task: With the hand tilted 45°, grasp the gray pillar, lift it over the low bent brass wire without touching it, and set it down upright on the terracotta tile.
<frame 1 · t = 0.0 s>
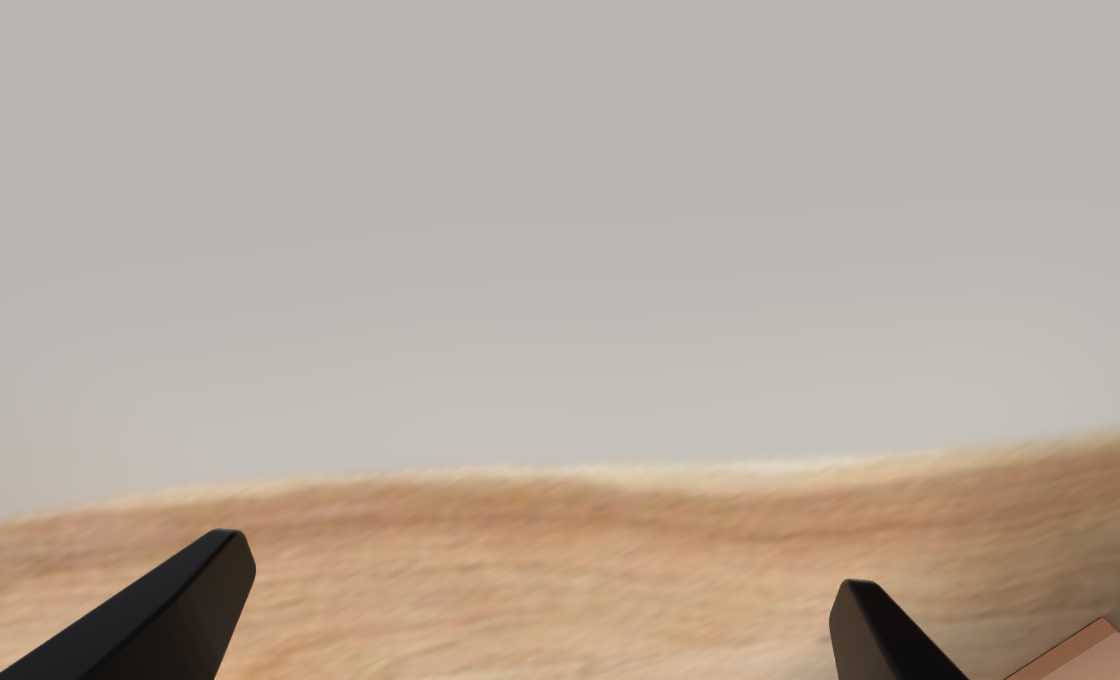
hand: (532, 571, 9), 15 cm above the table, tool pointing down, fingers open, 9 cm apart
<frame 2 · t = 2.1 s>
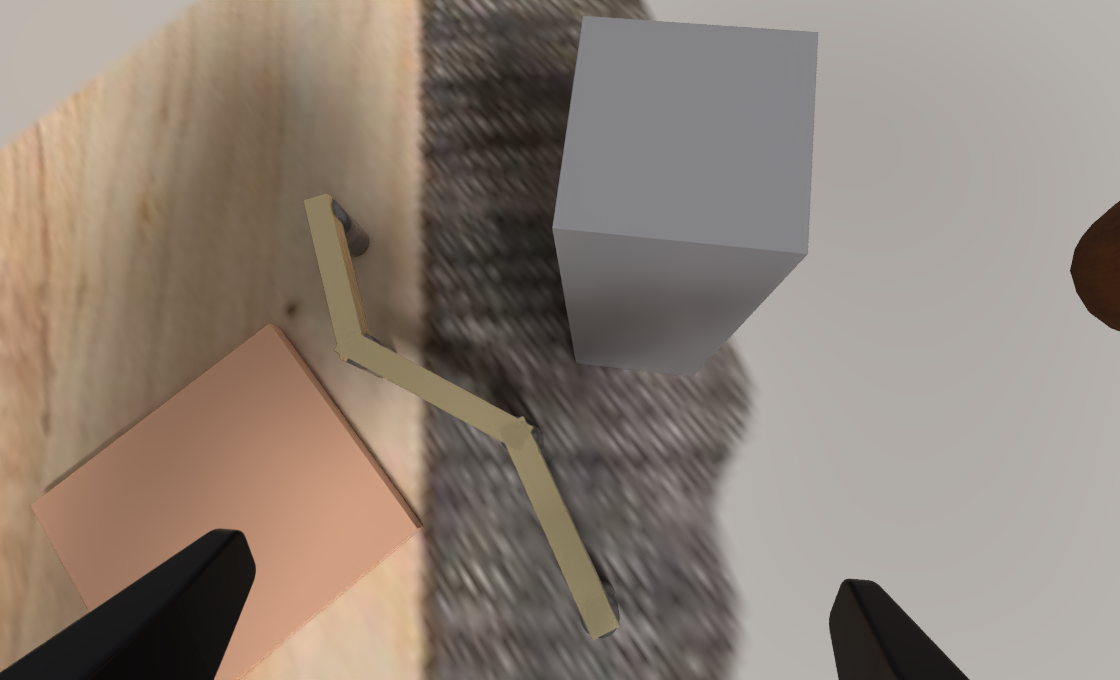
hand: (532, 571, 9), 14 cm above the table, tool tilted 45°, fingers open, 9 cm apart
terracotta tile: (231, 515, 23), on the table
gray pillar: (639, 314, 24), on the table
bent wire: (467, 406, 23), on the table
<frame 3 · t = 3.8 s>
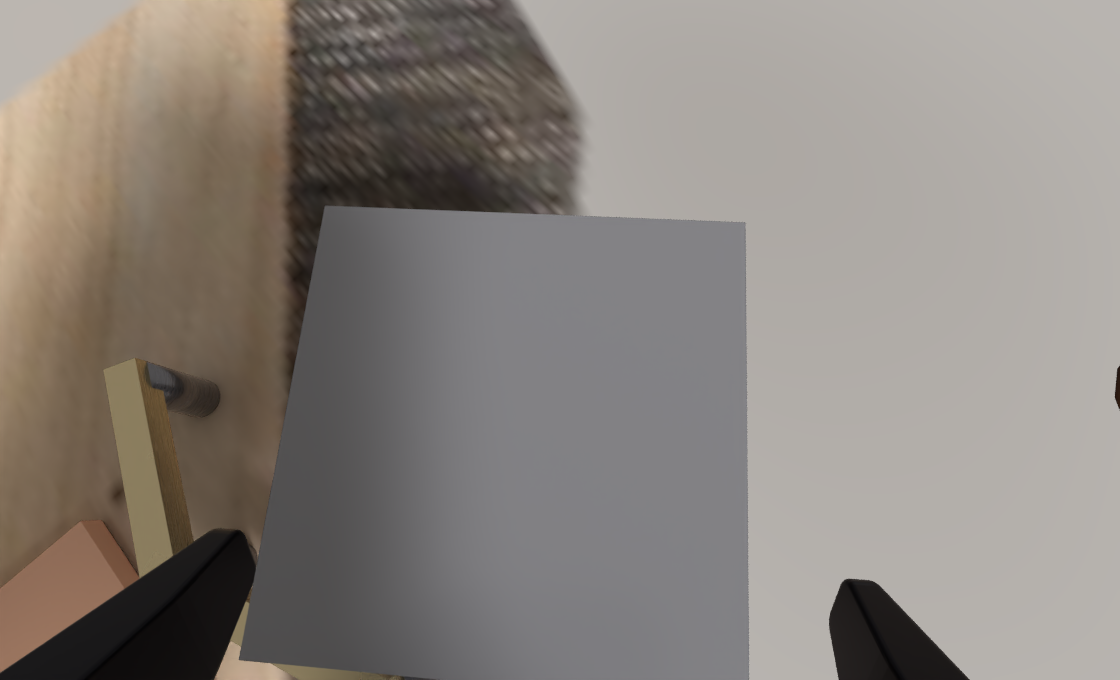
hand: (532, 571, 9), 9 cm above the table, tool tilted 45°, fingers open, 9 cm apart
gray pillar: (567, 478, 18), on the table
bent wire: (345, 619, 18), on the table
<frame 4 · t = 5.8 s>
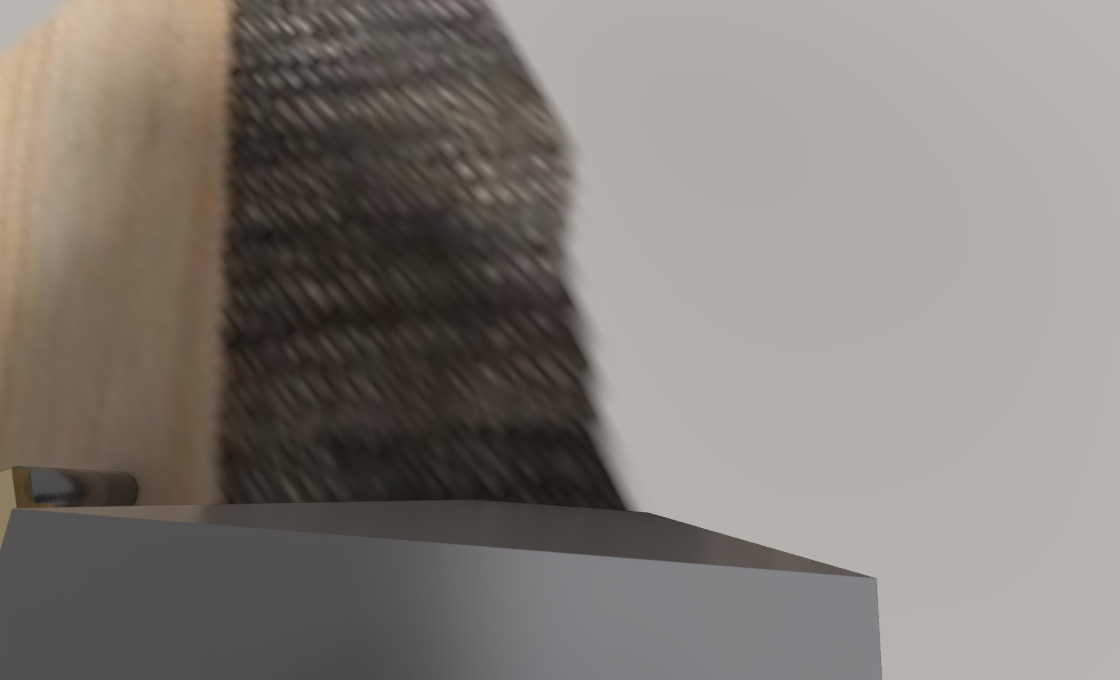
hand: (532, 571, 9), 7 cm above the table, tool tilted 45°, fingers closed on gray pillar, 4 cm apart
gray pillar: (554, 599, 15), on the table, touching gripper
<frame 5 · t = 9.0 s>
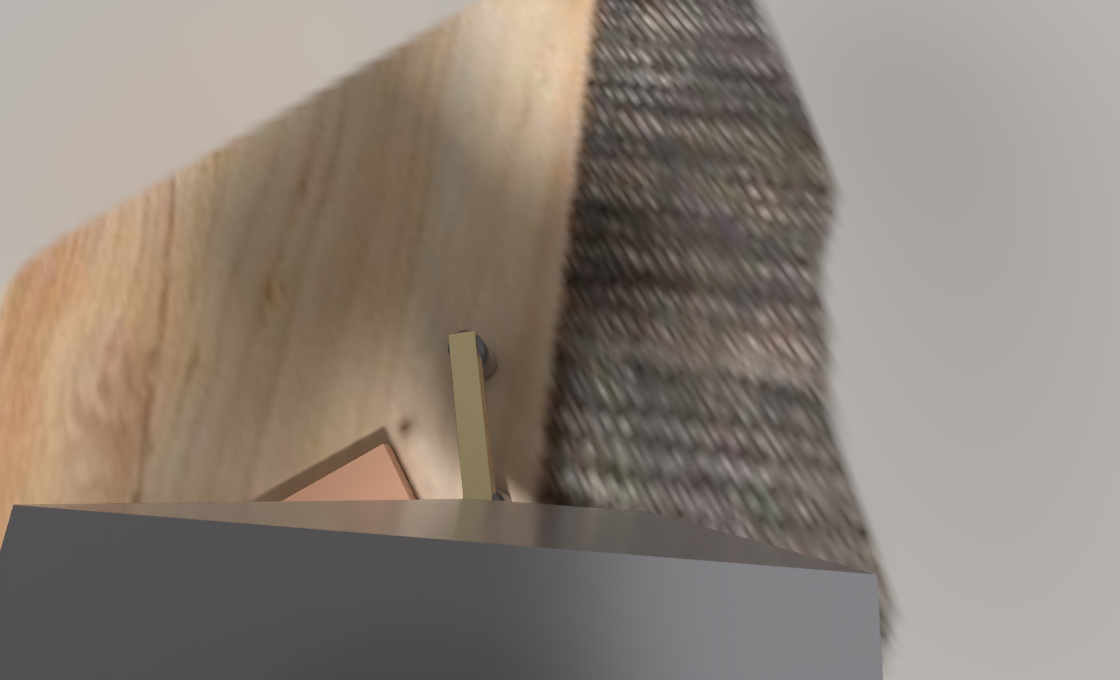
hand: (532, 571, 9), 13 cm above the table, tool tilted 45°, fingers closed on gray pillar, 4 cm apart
terracotta tile: (312, 645, 22), on the table
gray pillar: (554, 598, 15), point 7 cm above the table, touching gripper
bent wire: (578, 572, 22), on the table
when the fingers open (9 cm above the table, at t = 12.2 s): gray pillar drops 1 cm, resting on terracotta tile.
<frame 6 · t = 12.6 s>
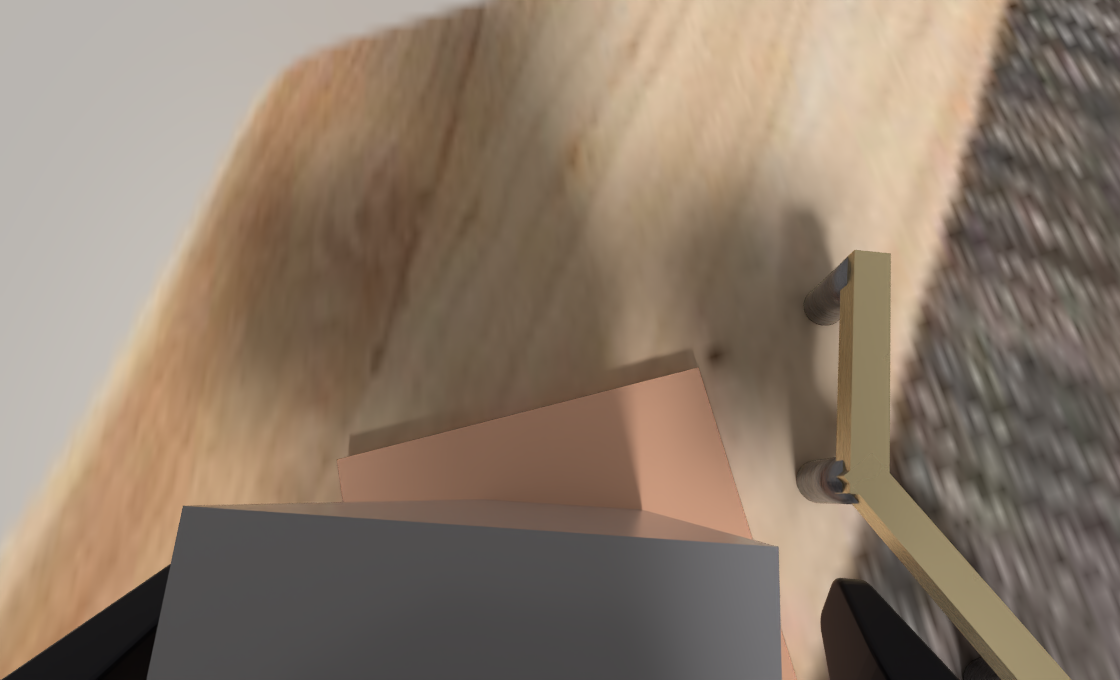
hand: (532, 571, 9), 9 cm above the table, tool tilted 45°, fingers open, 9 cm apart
terracotta tile: (560, 585, 17), on the table
gray pillar: (557, 589, 17), point 1 cm above the table, touching terracotta tile
bent wire: (914, 594, 17), on the table
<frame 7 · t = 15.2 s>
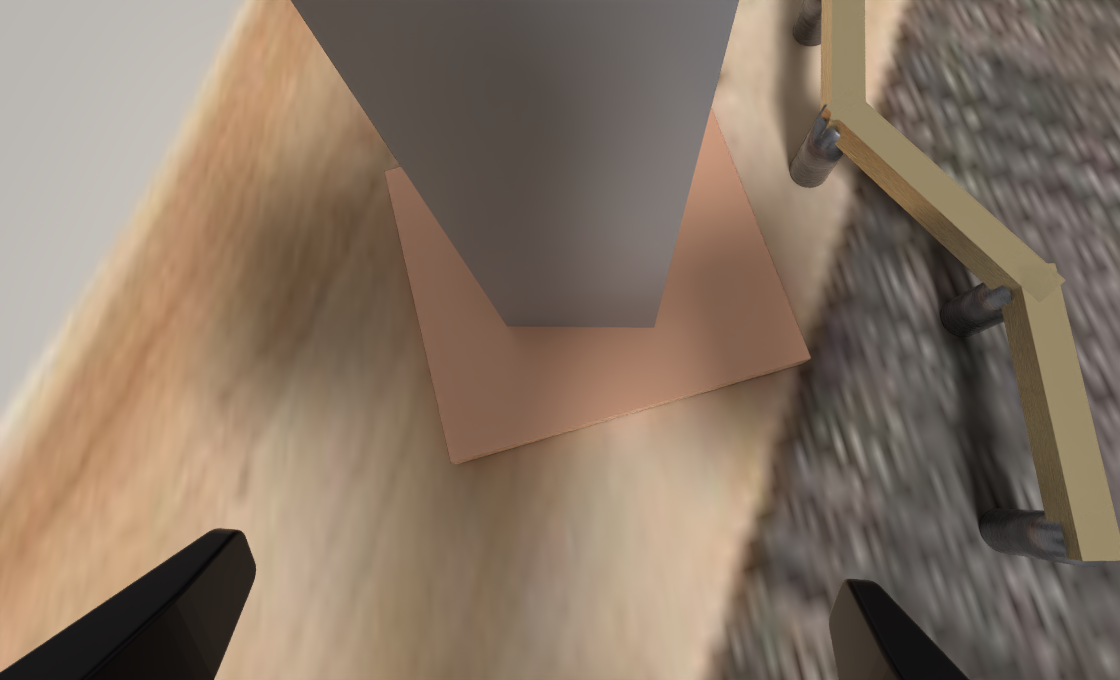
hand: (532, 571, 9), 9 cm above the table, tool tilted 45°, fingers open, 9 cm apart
terracotta tile: (583, 267, 20), on the table
gray pillar: (581, 257, 19), point 1 cm above the table, touching terracotta tile
bent wire: (896, 253, 19), on the table
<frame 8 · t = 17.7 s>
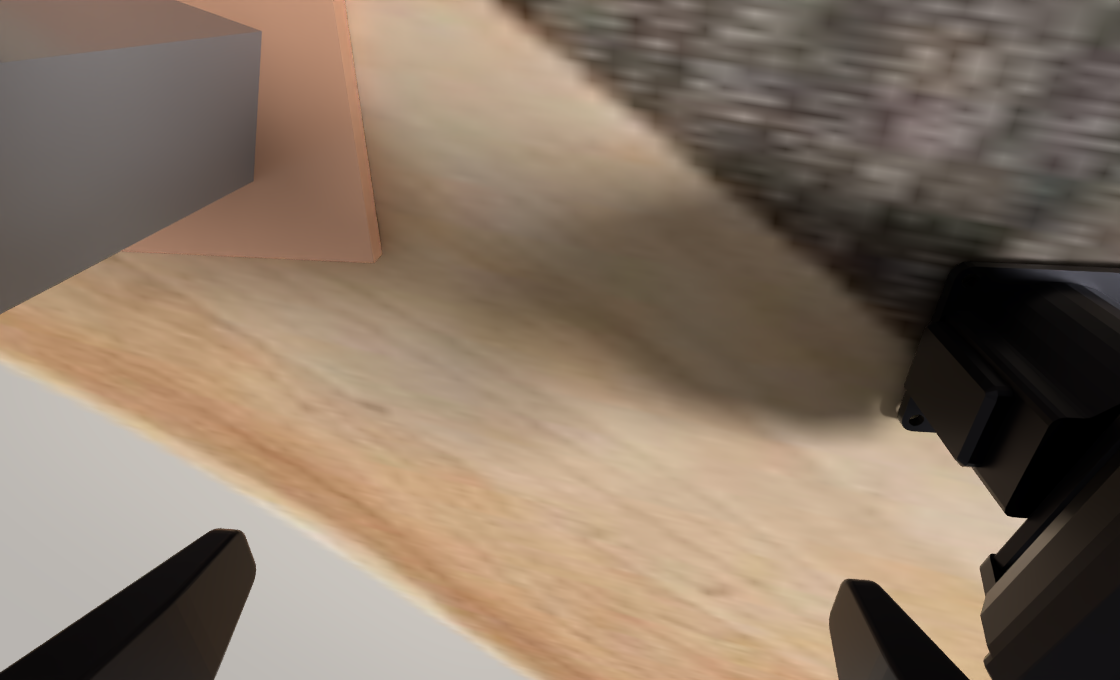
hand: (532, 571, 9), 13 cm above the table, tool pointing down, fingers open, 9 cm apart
terracotta tile: (199, 80, 19), on the table
gray pillar: (182, 84, 18), point 1 cm above the table, touching terracotta tile
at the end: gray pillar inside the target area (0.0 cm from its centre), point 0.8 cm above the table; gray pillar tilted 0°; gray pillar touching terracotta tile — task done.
